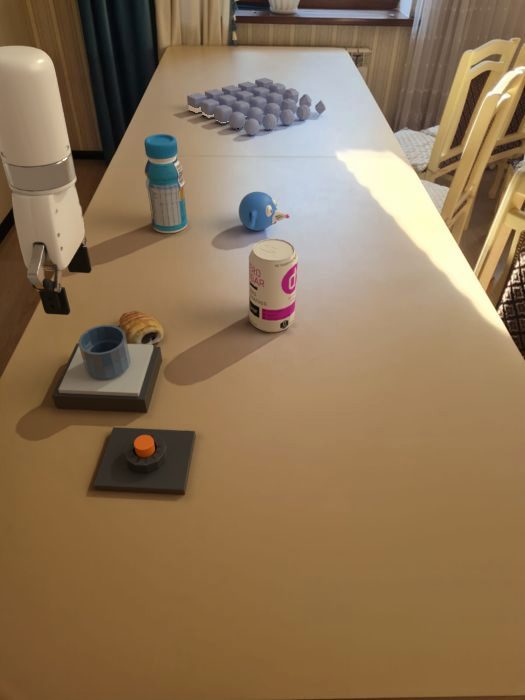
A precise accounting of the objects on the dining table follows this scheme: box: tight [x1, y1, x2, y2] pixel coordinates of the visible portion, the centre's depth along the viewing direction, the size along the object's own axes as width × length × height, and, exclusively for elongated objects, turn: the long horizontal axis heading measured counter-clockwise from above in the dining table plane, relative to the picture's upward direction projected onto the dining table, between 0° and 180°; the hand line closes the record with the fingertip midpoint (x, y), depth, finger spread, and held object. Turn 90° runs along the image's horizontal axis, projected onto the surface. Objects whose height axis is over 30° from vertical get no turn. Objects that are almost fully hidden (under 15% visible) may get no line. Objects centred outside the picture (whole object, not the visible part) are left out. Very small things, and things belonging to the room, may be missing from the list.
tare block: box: [93, 426, 197, 496], centre depth 74 cm, size 12×10×3 cm
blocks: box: [186, 77, 327, 136], centre depth 184 cm, size 35×34×5 cm
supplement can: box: [248, 238, 299, 333], centre depth 95 cm, size 8×8×15 cm
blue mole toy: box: [238, 191, 291, 232], centre depth 122 cm, size 12×12×8 cm
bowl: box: [77, 324, 131, 379], centre depth 82 cm, size 7×7×6 cm
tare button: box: [134, 435, 155, 458], centre depth 73 cm, size 3×3×2 cm
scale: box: [51, 342, 163, 414], centre depth 85 cm, size 14×12×4 cm
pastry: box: [119, 310, 165, 345], centre depth 95 cm, size 9×7×4 cm
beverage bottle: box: [143, 133, 188, 234], centre depth 119 cm, size 8×8×20 cm
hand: (69, 291), depth 74 cm, fingers open, 9 cm apart
